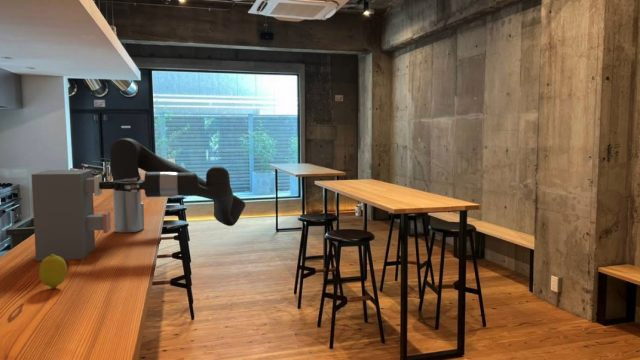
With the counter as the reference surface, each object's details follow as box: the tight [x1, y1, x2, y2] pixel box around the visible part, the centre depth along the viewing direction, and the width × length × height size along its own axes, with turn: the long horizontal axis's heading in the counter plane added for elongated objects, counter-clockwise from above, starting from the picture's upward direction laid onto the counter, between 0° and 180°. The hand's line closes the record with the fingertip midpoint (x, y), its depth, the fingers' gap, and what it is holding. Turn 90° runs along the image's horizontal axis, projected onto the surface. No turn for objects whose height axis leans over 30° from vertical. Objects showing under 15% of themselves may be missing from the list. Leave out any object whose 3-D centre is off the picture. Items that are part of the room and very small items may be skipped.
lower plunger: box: [86, 210, 112, 234], centre depth 136 cm, size 9×6×6 cm, turn 104°
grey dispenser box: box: [31, 169, 96, 262], centre depth 134 cm, size 12×14×24 cm
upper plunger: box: [85, 174, 103, 197], centre depth 134 cm, size 9×6×6 cm, turn 104°
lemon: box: [38, 254, 68, 289], centre depth 105 cm, size 6×6×8 cm
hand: (100, 185), depth 135 cm, fingers closed
